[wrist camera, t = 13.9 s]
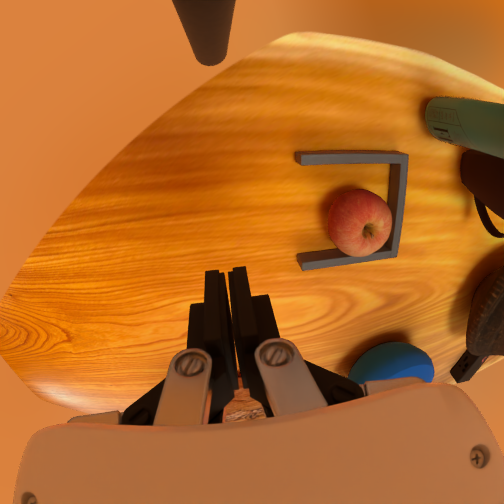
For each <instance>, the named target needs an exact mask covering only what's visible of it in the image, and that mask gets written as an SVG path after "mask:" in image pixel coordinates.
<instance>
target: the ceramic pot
mask: <svg viewBox="0 0 504 504" xmlns="http://www.w3.org/2000/svg"><path fill="white" fill-rule="evenodd" d="M466 347H467V349H468V351H469V352H470V353H471V354H473V355H476V356H480V355H502V356H504V266H502V267H501V268H499V269H498V270H496V271H495V272H493V273H492V274H490V275H489V276H488V277H486V278H485V279H484V280H483V281H482V282H481V284H480V285H479V286H478V288H477V290H476V292H475V295H474V297H473V300H472V305H471V310H470V315H469V319H468V325H467V332H466Z"/></svg>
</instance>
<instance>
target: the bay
mask: <svg viewBox="0 0 504 504" xmlns="http://www.w3.org/2000/svg"><path fill="white" fill-rule="evenodd" d="M295 157H296V162H297V163H299V164H300V165H322V164H358V163H390V181H389V194H388V207H389V209H390V211H391V214H392V227H391V232H390V235H389V237H388V239H387V241H386V242H385V243H384V245H383V246H382V247H381V248H380V249H378V250H377V251H375V252H374V253H372V254H370V255H368V256H364V257H354V256H350V255H347V254H345V253H344V252H342V251H341V250H340V249H332V250H324V251H316V252H308V253H300V254H297V261H298V263H299V265H300V267H301V269H302V271H305V270H312V269H319V268H326V267H333V266H340V265H347V264H354V263H361V262H367V261H374V260H380V259H387V258H394V257H397V254H398V248H399V242H400V235H401V228H402V221H403V213H404V205H405V196H406V185H407V172H408V154H405V153H402V152H399V151H373V150H331V151H300V152H295Z"/></svg>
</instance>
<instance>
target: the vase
mask: <svg viewBox="0 0 504 504" xmlns="http://www.w3.org/2000/svg"><path fill="white" fill-rule="evenodd" d="M403 377H419V378H421V379H423V380H424V381H425V382H426V383H431V382H432V379H433V377H434V367H433V363H432V361H431V359H430V358H429V356H428V355H427V354H426V352H424V351H422V350H421V349H419V348H417V347H415V346H413V345H411V344H409V343H402V342H388V343H383V344H380V345H377V346H375V347H373V348H371V349H370V350H368V351H367V352H365V353H364V354H363V355H362V356H361V357H360V358H359V359H358V360H357V362H356V363H355V364H354V365H353V367H352V369H351V371H350V373H349V375H348V378H347V379H350V380H352V381H354V382H356V383H357V384H365V381H375V380H385V379H395V378H403Z"/></svg>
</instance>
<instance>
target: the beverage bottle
mask: <svg viewBox="0 0 504 504" xmlns="http://www.w3.org/2000/svg"><path fill="white" fill-rule="evenodd" d="M425 120H426V125H427V128H428V130H429V132H430V133H431V134H432V135H433V136H434V137H435V138H437V139H439V140H440V141H441V140H442V141H446V142H448V143H449V144H451V143H453V145H454V144H457V145H460V146H464V148H466V147H467V148H471V149H474V150H477V151H480V152H482V153H483V152H484V153H485V154H486V153H487V154H490V155H493V156H497V157H500V158H503V159H504V104H499V103H493V102H486V101H479V100H474V99H473V98H472V99H465V98H464V97H462V98H453V97H450V96H448V97H446V96H445V97H436V98H433V99H432V100H431V101H430V102H429V103H428V105H427V107H426V111H425ZM446 142H445V143H446ZM457 145H456V146H457ZM467 148H466V149H467ZM497 157H496V158H497Z"/></svg>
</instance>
